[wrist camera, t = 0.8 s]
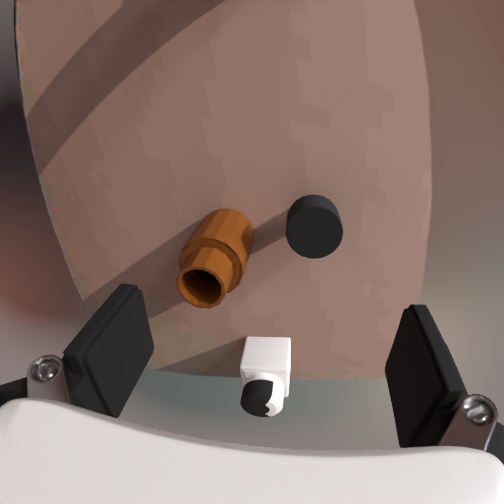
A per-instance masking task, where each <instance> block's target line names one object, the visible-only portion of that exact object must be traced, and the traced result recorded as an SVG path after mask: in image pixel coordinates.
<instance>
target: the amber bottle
mask: <svg viewBox="0 0 504 504" xmlns="http://www.w3.org/2000/svg"><path fill="white" fill-rule="evenodd" d="M253 239H254V232H253V228H252V226H251V224H250V222H249V221H248V219H247V218H246V217H245V216H244V215H242V214H241V213H239V212H237V211H235V210H231V209H219V210H215V211H213V212H212V213H210V214H209V215H208V216H207V217H206V218H205V219H204V220H203V221H202V223H201V224H200V225H199V227H198V228H197V229H196V231H195V232H194V234H193V235H192V236H191V238H190V239H189V241H188V242H187V243H186V245H185V246H184V248H183V249H182V251H181V254H180V258H179V266H180V273H179V275H178V277H177V279H176V283H177V289H178V292H179V294H180V295H181V296H182V298H183V299H184V300H185V301H186V302H188V303H190V304H191V305H193V306H195V307H198V308H208V309H209V308H212V307H214V306H217V305H219V304H220V303H221V301H222V300H223V298H224V297H225V295H226V293H229V292H231V291H232V290H233V289H234V288H236V287H237V286H238V285H239V283H240V281H241V279H242V277H243V274H244V271H245V267H246V264H247V261H248V258H249V254H250V251H251V248H252V245H253Z"/></svg>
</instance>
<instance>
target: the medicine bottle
mask: <svg viewBox="0 0 504 504" xmlns="http://www.w3.org/2000/svg"><path fill="white" fill-rule="evenodd" d="M290 367H291V340H290V338H289V337H249V336H248V337H246V341H245V345H244V350H243V354H242V359H241V363H240V374H241V380H242V385H243V393H242V397H241V402H240V403H241V406H242V408H243V409H244V410H245V411H246V412H247V413H249V414H251V415H254V416H258V417H270V416H273V415H276V414H277V413H279V412H280V411H281V410H282V407H283V397H288V394H289V381H290Z"/></svg>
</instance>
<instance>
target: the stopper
mask: <svg viewBox="0 0 504 504" xmlns="http://www.w3.org/2000/svg"><path fill="white" fill-rule="evenodd" d="M342 236H343V227H342V223H341V220H340V217H339V214H338V211H337V208H336V207H335V205H334V204H333V203H332V202H331V201H330V200H329V199H327V198H325V197H323V196H320V195H307V196H304V197H301V198H300V199H298V200H297V201H295V202H294V203H293V205H292V206H291V208H290V209H289V212H288V217H287V227H286V237H287V241H288V243H289V245H290V246H291V248H292V249H293V250H294V251H295V252H296V253H298V254H299V255H301V256H304V257H307V258H322V257H325V256H327V255H329V254H331V253H332V252H333V251H335V250H336V248H337V247H338V246H339V244H340V242H341V240H342Z"/></svg>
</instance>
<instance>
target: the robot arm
mask: <svg viewBox="0 0 504 504" xmlns="http://www.w3.org/2000/svg"><path fill="white" fill-rule="evenodd" d="M153 350H154V344H153V339H152V335H151V331H150V327H149V322H148V318H147V313H146V309H145V304H144V299H143V294H142V291H141V290H140V289H138V287H137V286H136V285H131V284H120V285H119V286H118V288H117V289H116V290H115V291H114V292H113V293H112V294H111V295H110V297H109V298H108V299H107V300H106V301H105V302H104V303H103V305H102V306H101V307H100V308H99V309H98V310H97V312H96V313H95V314H94V315H93V316H92V318H91V319H90V320H89V321H88V322H87V324H86V325H85V326H84V327H83V328H82V330H81V331H80V332H79V333H78V334H77V336H76V337H75V338H74V339H73V341H72V342H71V343H70V344H69V345H68V347H67V348H66V349H65V350H64V352H63V353H64V356H63V358H62V359H60V358H59V357H57V356H55V355H45V356H42V357H39V358H37V359H36V360H34V361H33V362H32V364H30V366H29V368H28V371H27V377H25V378H22V379H19V380H16V381H13V382H10V383H6V384H3V385H0V504H504V426H503V425H502V424H500V423H498V422H497V419H498V411H497V408H496V406H495V404H494V403H493V402H492V401H491V400H490V399H489V398H487V397H486V396H483V395H480V394H472V395H468V393H467V391H466V389H465V386H464V383H463V381H462V379H461V377H460V374H459V371H458V369H457V367H456V365H455V362H454V360H453V358H452V356H451V353H450V351H449V349H448V347H447V345H446V343H445V342H444V340H443V338H442V336H441V334H440V332H439V330H438V328H437V326H436V324H435V322H434V320H433V318H432V316H431V314H430V312H429V310H428V308H427V307H426V305H412V304H411V305H410V306H409V307H408V309H404V311H403V314H402V317H401V321H400V324H399V327H398V330H397V333H396V336H395V339H394V342H393V345H392V348H391V351H390V354H389V357H388V359H387V362H386V366H385V374H386V378H387V383H388V388H389V392H390V397H391V402H392V407H393V412H394V418H395V423H396V428H397V434H398V440H399V445H400V447H401V448H398V449H382V450H381V449H380V450H346V451H345V450H340V451H338V450H335V451H334V450H331V451H330V450H326V451H325V450H300V449H284V448H271V447H261V446H251V445H243V444H235V443H227V442H220V441H214V440H209V439H203V438H197V437H192V436H187V435H182V434H177V433H172V432H168V431H163V430H159V429H154V428H150V427H146V426H142V425H139V424H135V423H131V422H127V421H124V420H121V419H117V418H118V417H119V415H120V414H121V412H122V410H123V408H124V406H125V404H126V402H127V400H128V398H129V396H130V394H131V393H132V391H133V389H134V387H135V385H136V383H137V381H138V379H139V378H140V376H141V374H142V372H143V370H144V368H145V366H146V365H147V363H148V361H149V359H150V357H151V355H152V353H153Z"/></svg>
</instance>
